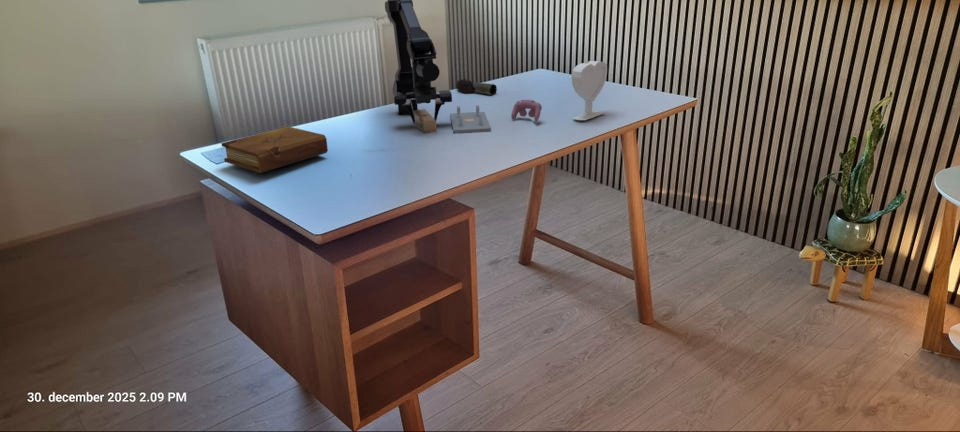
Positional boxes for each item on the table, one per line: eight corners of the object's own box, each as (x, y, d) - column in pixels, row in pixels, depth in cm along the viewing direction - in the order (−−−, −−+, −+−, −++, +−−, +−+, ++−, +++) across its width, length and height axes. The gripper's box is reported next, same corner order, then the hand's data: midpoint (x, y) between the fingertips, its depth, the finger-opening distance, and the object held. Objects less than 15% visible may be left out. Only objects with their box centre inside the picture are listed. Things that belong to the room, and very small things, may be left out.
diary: (261, 174, 184) (258, 154, 182) (224, 162, 195) (221, 143, 193) (328, 153, 200) (325, 134, 198) (290, 143, 211) (287, 125, 209)
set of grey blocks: (459, 126, 218) (459, 115, 217) (457, 116, 230) (456, 106, 229) (482, 125, 219) (482, 114, 217) (479, 115, 231) (478, 105, 229)
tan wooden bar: (424, 133, 216) (423, 121, 215) (414, 121, 230) (413, 110, 229) (436, 132, 217) (435, 120, 216) (425, 120, 231) (424, 109, 230)
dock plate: (453, 133, 214) (453, 130, 214) (450, 116, 234) (450, 113, 234) (490, 131, 215) (490, 127, 215) (484, 114, 235) (484, 111, 235)
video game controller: (541, 122, 226) (543, 101, 225) (537, 121, 222) (539, 100, 221) (514, 119, 230) (516, 99, 229) (509, 119, 226) (511, 98, 225)
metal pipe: (497, 94, 262) (496, 79, 259) (487, 97, 257) (486, 82, 255) (462, 91, 272) (461, 77, 270) (451, 94, 267) (450, 80, 265)
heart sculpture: (581, 121, 223) (582, 66, 216) (569, 119, 226) (570, 65, 219) (607, 112, 233) (609, 59, 226) (595, 110, 236) (597, 58, 229)
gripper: (392, 82, 209) (396, 131, 215) (451, 79, 211) (454, 127, 217) (393, 75, 219) (396, 122, 225) (449, 72, 221) (452, 119, 227)
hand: (424, 123), depth 223 cm, fingers open, 7 cm apart
